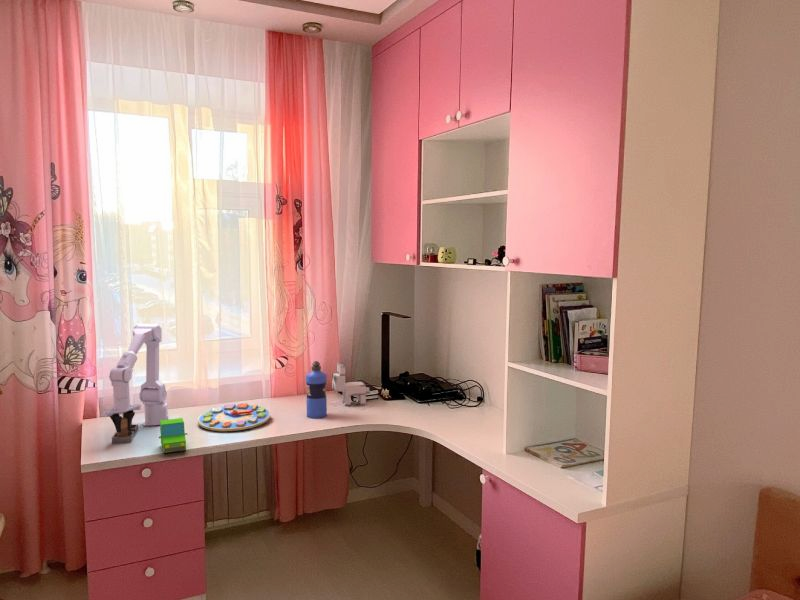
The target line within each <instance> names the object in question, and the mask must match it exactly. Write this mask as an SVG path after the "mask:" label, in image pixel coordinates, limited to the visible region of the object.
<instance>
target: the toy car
mask: <svg viewBox="0 0 800 600" xmlns="http://www.w3.org/2000/svg"><path fill="white" fill-rule="evenodd" d="M159 427H160V430H159V431H160V436H158V439H160V445H161V449H162V454H163V455H165V454H167V453H170V452H171V453H172V452H181V451H183V452H184V451H185V452H187V443H186V442H187V441H186V436H187V435H188V432H187V433H186V432H185V421H184V418H183V417H179V418H177V417H176V418H168V420H160V425H159Z"/></svg>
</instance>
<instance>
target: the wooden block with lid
mask: <svg viewBox="0 0 800 600" xmlns="http://www.w3.org/2000/svg"><path fill="white" fill-rule="evenodd" d="M117 436H118V437H124V436H128V420H127V418H125V417H123V416H122V419H121V432H120V433H118V432H117Z"/></svg>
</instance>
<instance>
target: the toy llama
mask: <svg viewBox="0 0 800 600" xmlns="http://www.w3.org/2000/svg"><path fill="white" fill-rule="evenodd" d="M336 365H337V366H336V368H337V370H336V371H337V372H332V374H331V375H332V376H331V378H332V381H331V382H332V383H331V384H332V388H331V389H332V390H333V391H334V392H335V393H337V392H339V393H340V392H342V404H343V405H344V406H345V407H351V406H352V405H351V402H352V401H351V399H352V398H351V397H354V396H356V397H357V398H358V401H357V403H359V405H360V406H366V405H367V401H366V400H367V398H366V397H367V394H370V391H371V389H370V387H369V386H367V385H366V383H365V382H363V380H361V381H360V380H359V381H348V382H346V365H345V364H344V362H337V363H336ZM344 403H345V404H344Z"/></svg>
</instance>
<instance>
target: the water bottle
mask: <svg viewBox="0 0 800 600" xmlns="http://www.w3.org/2000/svg"><path fill="white" fill-rule="evenodd" d="M311 365H312V366H311V368H310V369H311V371H310V372H309V373H307V374H305V383H306V390H307V391H306V418H308V419H313V420H314V419H317V420H318V418H319V419H325V418H326V417H327V414H328V413H327V412H328V411H327V409H328V408H327V406H328V405H327V404H328V403H327V400H328V399H327V392H326V388H327V380H328V379H327V375H328V374H327V373H325V372H324V371H321V370H322V367H321V363H320V362H319V360H318V361H317V360H315V361H313V362H312V363H311Z"/></svg>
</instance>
